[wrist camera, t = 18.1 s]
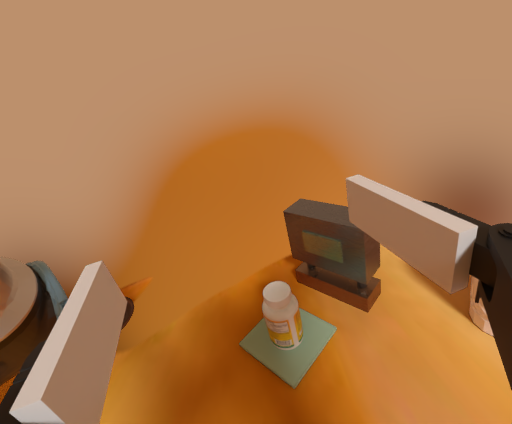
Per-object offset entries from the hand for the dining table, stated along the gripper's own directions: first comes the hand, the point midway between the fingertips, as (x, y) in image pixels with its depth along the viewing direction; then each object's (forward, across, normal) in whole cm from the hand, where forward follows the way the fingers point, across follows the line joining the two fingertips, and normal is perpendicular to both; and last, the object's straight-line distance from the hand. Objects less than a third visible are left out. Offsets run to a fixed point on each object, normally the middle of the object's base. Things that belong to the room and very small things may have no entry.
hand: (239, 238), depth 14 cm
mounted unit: (+22, +16, -30) cm, 41 cm away
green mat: (+16, +4, -30) cm, 34 cm away
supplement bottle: (+16, +4, -30) cm, 34 cm away
